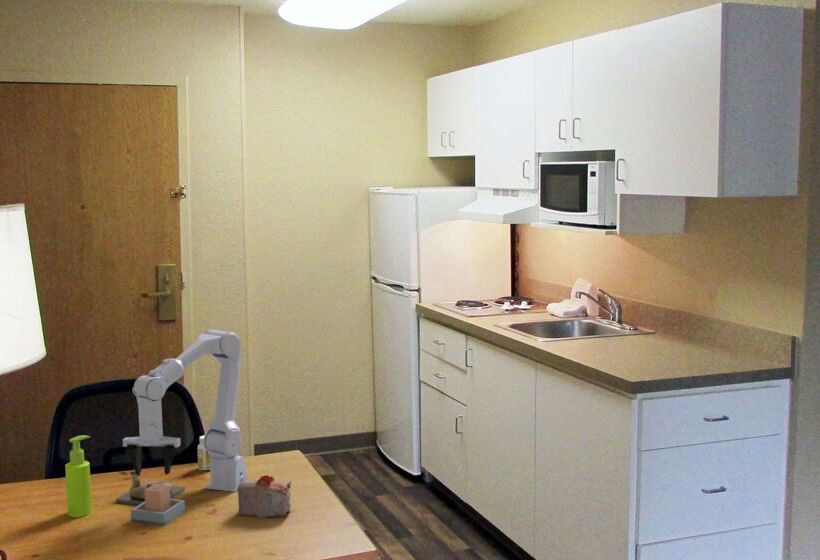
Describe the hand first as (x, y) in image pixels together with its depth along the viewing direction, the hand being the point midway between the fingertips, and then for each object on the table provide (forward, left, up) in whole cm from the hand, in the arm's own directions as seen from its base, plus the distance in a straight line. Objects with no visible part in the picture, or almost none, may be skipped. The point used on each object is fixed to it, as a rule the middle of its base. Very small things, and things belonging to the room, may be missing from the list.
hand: (153, 473), depth 232 cm
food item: (-29, -7, -10) cm, 31 cm away
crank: (+7, -9, -9) cm, 15 cm away
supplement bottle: (+4, -34, -10) cm, 36 cm away
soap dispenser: (+18, +6, -10) cm, 22 cm away
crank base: (+7, -9, -10) cm, 15 cm away
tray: (-3, +3, -10) cm, 11 cm away
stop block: (-3, +3, -10) cm, 10 cm away
